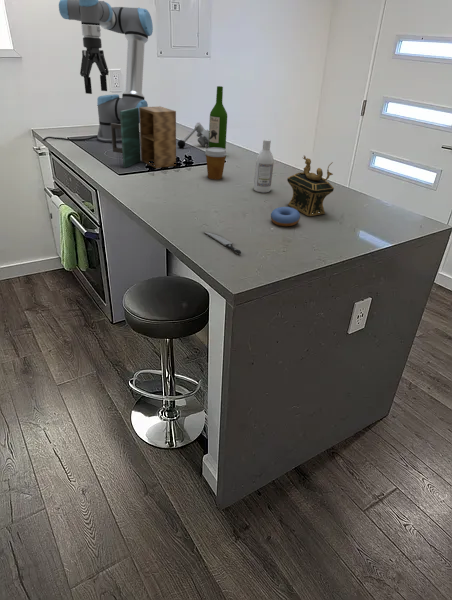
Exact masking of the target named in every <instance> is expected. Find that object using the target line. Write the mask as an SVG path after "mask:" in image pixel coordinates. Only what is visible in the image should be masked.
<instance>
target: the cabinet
mask: <svg viewBox="0 0 452 600" xmlns="http://www.w3.org/2000/svg"><path fill="white" fill-rule="evenodd" d="M139 119H140V123H139V134H140V156H141V161H140V162H141V163H144V164H146V165H148V166H150V167H153V168H154V169H160V168H169V167H176V166H177V111H176V110H174V109H170V108H168V107H164V106H161V105H159V106H148V107H139ZM149 161H153V162H154V163H149ZM174 163H176V164H174ZM152 164H153V165H152ZM154 165H155V166H154Z"/></svg>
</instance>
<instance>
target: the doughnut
mask: <svg viewBox="0 0 452 600" xmlns="http://www.w3.org/2000/svg"><path fill="white" fill-rule="evenodd" d="M300 214H301V213H300V212H299V211H298V210H296V209H294V208H292V207H290V206H279V207H276V208H274V209H273V210H272V212H271V213H270V220H271V222H272V223H273V224H274V225H277V226H280V227H292V226H295V225H296V224H298V223H299V221H300V220H301V215H300Z"/></svg>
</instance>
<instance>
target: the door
mask: <svg viewBox="0 0 452 600" xmlns="http://www.w3.org/2000/svg"><path fill="white" fill-rule="evenodd" d="M120 121H121V124H116V123H111V134H112V143H111V144H112V145H111V146H112V153H119V154H122V164H123V165H122V166H123V168H124V169H126V168H128V167H131V166H133V165H135V164H137V163H140V162H142V161H141V142H140V123H139V112H138V108H132V109H128V110H123V111H120ZM115 129H121V136H122V142H121V147H118V146H117V142H116V131H115Z"/></svg>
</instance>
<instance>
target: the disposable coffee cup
mask: <svg viewBox="0 0 452 600" xmlns="http://www.w3.org/2000/svg"><path fill="white" fill-rule="evenodd" d="M204 154H205V159H206V171H207V178H208V179H210V180H216V181H219V180H221V179H223V175H224V169H225V163H226V158H227V155H228V152H227V149H223V148H217V147H211V148H209V147H207V148H206V149H205V151H204Z"/></svg>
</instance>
